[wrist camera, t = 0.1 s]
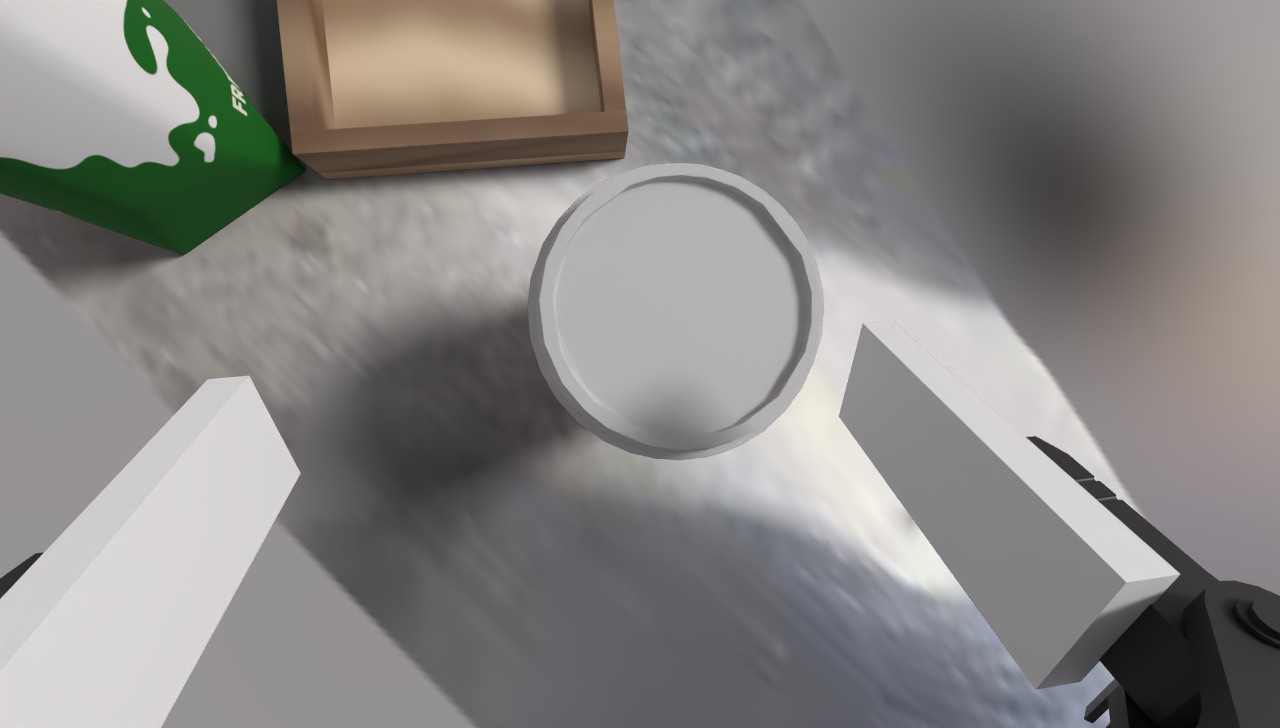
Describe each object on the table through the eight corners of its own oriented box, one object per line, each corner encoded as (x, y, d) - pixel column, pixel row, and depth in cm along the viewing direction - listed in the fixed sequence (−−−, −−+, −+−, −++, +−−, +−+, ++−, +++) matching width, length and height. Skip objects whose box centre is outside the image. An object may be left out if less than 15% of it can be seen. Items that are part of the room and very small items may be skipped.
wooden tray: (624, 157, 27) (628, 131, 24) (326, 179, 26) (292, 154, 23) (592, -121, 28) (593, -181, 25) (296, -115, 26) (258, -178, 23)
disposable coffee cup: (517, 366, 27) (458, 358, 15) (614, 212, 27) (632, 85, 15) (674, 460, 27) (739, 526, 15) (765, 307, 28) (894, 256, 16)
